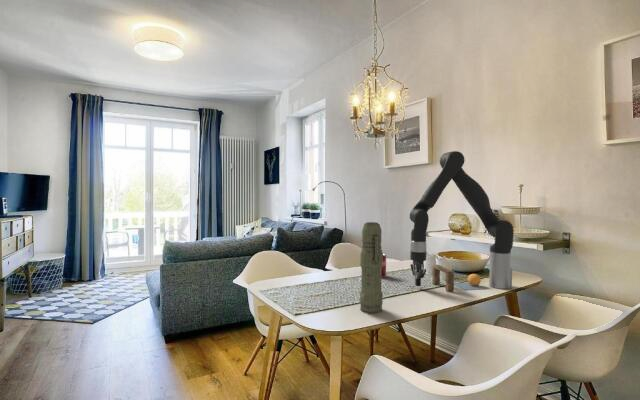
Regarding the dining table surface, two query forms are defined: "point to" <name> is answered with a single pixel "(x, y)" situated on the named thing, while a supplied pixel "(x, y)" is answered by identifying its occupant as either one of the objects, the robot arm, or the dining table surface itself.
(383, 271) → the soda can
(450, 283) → the bridge
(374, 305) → the thermos
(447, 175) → the robot arm
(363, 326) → the dining table surface
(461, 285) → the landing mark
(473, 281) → the ball
